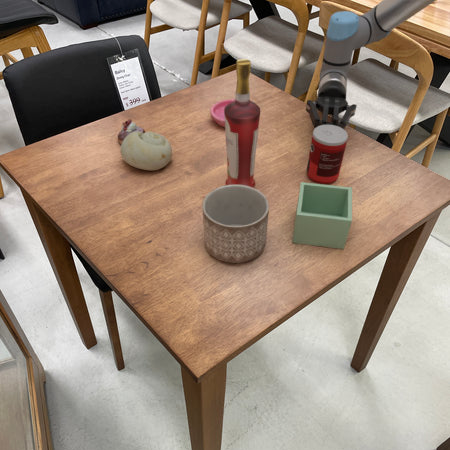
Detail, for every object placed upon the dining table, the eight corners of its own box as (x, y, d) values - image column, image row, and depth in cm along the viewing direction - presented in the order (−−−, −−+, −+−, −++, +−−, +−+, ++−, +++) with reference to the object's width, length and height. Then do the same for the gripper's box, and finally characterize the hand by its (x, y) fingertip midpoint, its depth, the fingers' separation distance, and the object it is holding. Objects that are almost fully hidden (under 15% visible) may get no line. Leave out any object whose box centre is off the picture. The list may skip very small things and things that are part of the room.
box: (343, 249, 90) (351, 220, 84) (292, 242, 91) (296, 214, 85) (344, 216, 96) (352, 187, 90) (296, 210, 97) (300, 181, 92)
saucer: (243, 105, 127) (243, 95, 125) (262, 126, 120) (263, 115, 117) (203, 114, 124) (203, 104, 122) (221, 136, 117) (221, 125, 114)
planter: (203, 225, 94) (201, 185, 86) (261, 222, 95) (264, 182, 87) (206, 268, 86) (203, 228, 78) (269, 264, 87) (273, 225, 79)
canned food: (319, 162, 109) (327, 120, 100) (345, 176, 105) (355, 134, 97) (299, 174, 106) (305, 132, 97) (325, 189, 102) (334, 147, 94)
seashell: (169, 123, 107) (165, 141, 100) (175, 154, 112) (172, 173, 105) (118, 129, 108) (111, 146, 100) (126, 159, 113) (120, 178, 106)
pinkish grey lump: (127, 129, 119) (124, 112, 115) (152, 134, 117) (149, 117, 113) (112, 144, 114) (108, 127, 111) (137, 150, 113) (134, 132, 109)
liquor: (221, 180, 104) (219, 56, 83) (250, 175, 106) (256, 52, 84) (229, 199, 100) (229, 73, 78) (259, 194, 101) (268, 68, 79)
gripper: (353, 109, 120) (352, 158, 105) (305, 105, 121) (298, 152, 107) (360, 81, 114) (359, 129, 99) (309, 77, 115) (302, 123, 101)
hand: (327, 141), depth 103 cm, fingers closed
